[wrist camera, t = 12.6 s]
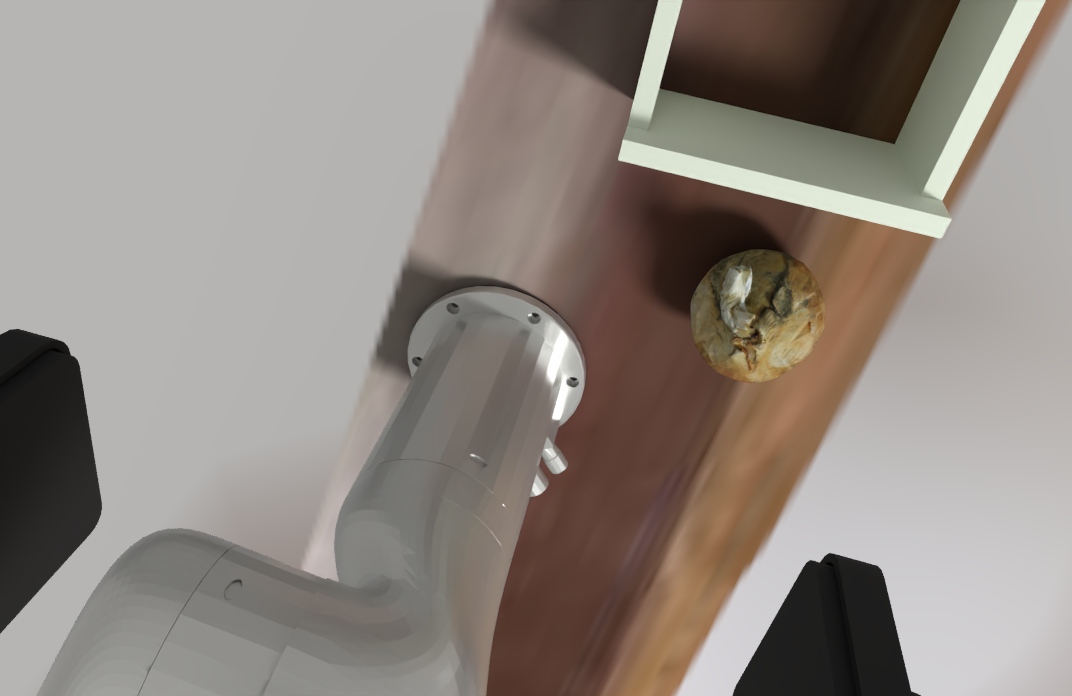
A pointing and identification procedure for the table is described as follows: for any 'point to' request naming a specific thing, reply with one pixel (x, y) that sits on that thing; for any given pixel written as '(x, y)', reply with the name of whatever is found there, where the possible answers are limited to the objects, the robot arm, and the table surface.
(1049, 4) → the table surface
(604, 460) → the table surface
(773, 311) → the onion
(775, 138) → the frame
